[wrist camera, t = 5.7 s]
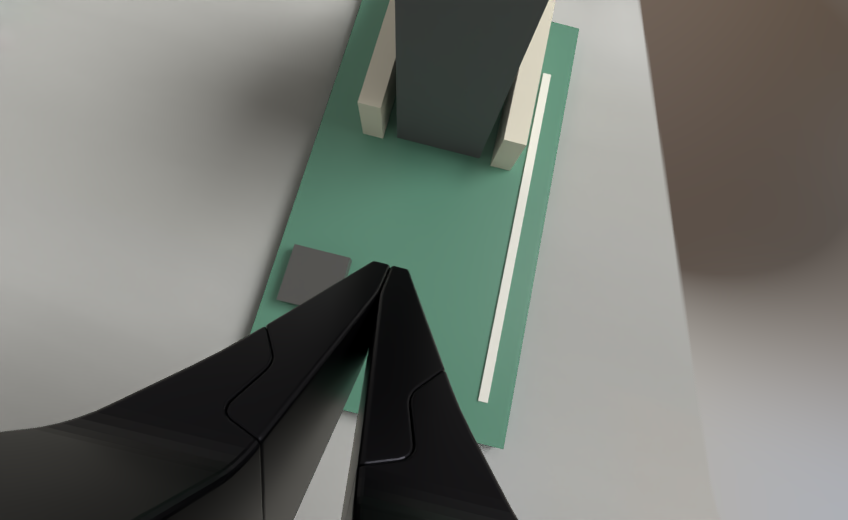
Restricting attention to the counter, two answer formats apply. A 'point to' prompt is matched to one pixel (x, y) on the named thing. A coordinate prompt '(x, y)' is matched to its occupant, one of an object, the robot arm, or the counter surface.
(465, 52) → the grey tall block
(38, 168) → the counter surface
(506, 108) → the board
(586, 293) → the counter surface
